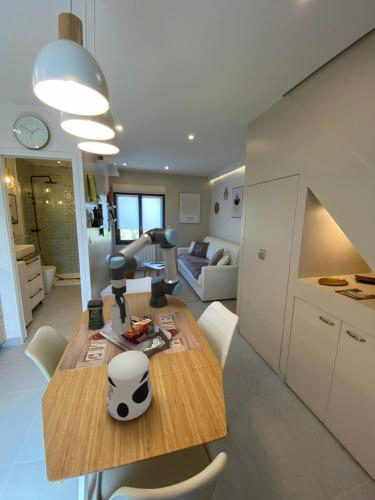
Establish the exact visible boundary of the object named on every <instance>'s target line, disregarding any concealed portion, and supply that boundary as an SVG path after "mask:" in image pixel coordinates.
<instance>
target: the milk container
mask: <svg viewBox="0 0 375 500" xmlns="http://www.w3.org/2000/svg"><path fill="white" fill-rule="evenodd" d="M106 373H107V374H106V375H107V376H106V377H107V391H106V400H105V401H106V407H107V410H108V413H109V414H110V416H111V417H113V418H114V419H115V420H117V421H123V422H124V421H131V420H134V419H136V418H139V417H140V416H141V415H143V414H144V413H145V412H146V411H147V409H148V408H149V406H150V404H151V402H152V398H153V384H152V381H151V377H150V374H151V370H150V360H149V357H148V355H147V356H146V354H144V353H143V351H139V350H126V351H123V352H121V353H119V354H117V355H116V356H114V357H112V359H111V360H110V361H109V362H108V366H107V370H106Z"/></svg>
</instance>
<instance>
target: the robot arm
mask: <svg viewBox="0 0 375 500" xmlns="http://www.w3.org/2000/svg"><path fill="white" fill-rule="evenodd" d="M178 243H179V235H178V232H177V230H176V229H174V228H169V227H166V228H163V227H155V228H151V229H149V230H147V231H145V232H143V233H142V234H141V235H140V237H138V238H137V239H135V240H134V241H132V242H130V243H129V244H127V245H126V246H125V247H124V248H122V249H121V250H119V251H118V252H116V253H114V254H108V255H106V256H105V257H104V264H105V266H106V267H109V269H110V282H109V283H111V294H112V295H114V302H115V301H116V300H117V304H118V305H119V308H120V317H119V319H120V328H121V329H123V328H126V317H127V316H126V309H125V299H126V298H125V299H124V294H125V293H127V277H126V275H127V273H129V272H132V271H137V269H140V268H141V266H142V260H141V258H140V257H139V256H135V255H137V254H138V253H139V252H140V251H142V250H143V249H145V248H146V247H148V246H151V245H154V244H158V245H159V249H161V250H162V257H163V265H164V272H165V273H164V274H165V276H164V275H158V276H155V277H152V278H151V280H150V290H151V291H150V298H149V304H148V305H149V306H150V307H152V308H155V309H156V308H160V309H161V308H165V307H166V306H168V303H169V302H168V299H167V296H166V295H168V296H172V297H178V296H180V295H181V293H182V291H183V285H184V284H183V282H182V281H180V278H179V277H178V275H177V274H178V273H177V266H176V265H177V264H176V255H175V248H176V246H177V244H178Z"/></svg>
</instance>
